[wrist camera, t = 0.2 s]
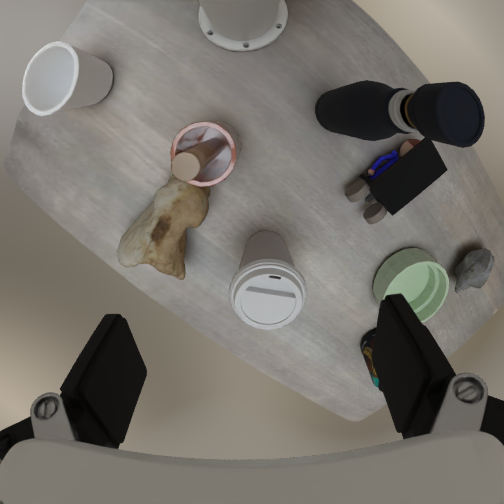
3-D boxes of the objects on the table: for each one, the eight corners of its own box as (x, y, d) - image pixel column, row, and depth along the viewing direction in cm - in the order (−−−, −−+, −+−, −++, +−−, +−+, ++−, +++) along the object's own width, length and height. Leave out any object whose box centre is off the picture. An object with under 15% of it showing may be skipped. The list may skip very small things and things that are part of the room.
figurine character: (362, 213, 48) (430, 159, 41) (374, 234, 41) (451, 172, 35) (338, 183, 46) (408, 126, 39) (346, 199, 39) (429, 133, 33)
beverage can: (368, 324, 55) (386, 367, 44) (396, 328, 56) (417, 369, 45) (354, 350, 58) (368, 394, 47) (381, 353, 59) (399, 394, 48)
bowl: (375, 249, 49) (387, 265, 43) (438, 243, 48) (455, 258, 42) (368, 312, 54) (377, 332, 49) (427, 304, 53) (439, 321, 48)
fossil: (451, 293, 52) (469, 315, 45) (436, 265, 50) (456, 287, 42) (487, 259, 49) (509, 278, 42) (475, 229, 46) (499, 246, 39)
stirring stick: (204, 139, 41) (168, 154, 25) (222, 136, 41) (197, 150, 25) (206, 156, 42) (173, 183, 26) (224, 154, 42) (201, 179, 26)
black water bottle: (337, 82, 38) (461, 41, 10) (365, 115, 40) (511, 131, 12) (305, 108, 40) (394, 97, 12) (335, 141, 41) (454, 191, 14)
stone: (152, 150, 42) (126, 160, 33) (223, 175, 44) (214, 192, 35) (127, 244, 49) (102, 272, 40) (189, 268, 51) (175, 301, 42)
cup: (133, 72, 37) (92, 61, 26) (98, 123, 40) (51, 130, 29) (93, 44, 35) (48, 30, 23) (61, 93, 38) (11, 94, 26)
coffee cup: (307, 241, 48) (325, 292, 35) (273, 285, 52) (278, 345, 38) (256, 210, 46) (256, 252, 33) (224, 257, 50) (212, 312, 36)
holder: (186, 124, 41) (166, 127, 32) (238, 117, 40) (232, 117, 31) (192, 174, 44) (175, 190, 35) (243, 168, 44) (239, 183, 35)
